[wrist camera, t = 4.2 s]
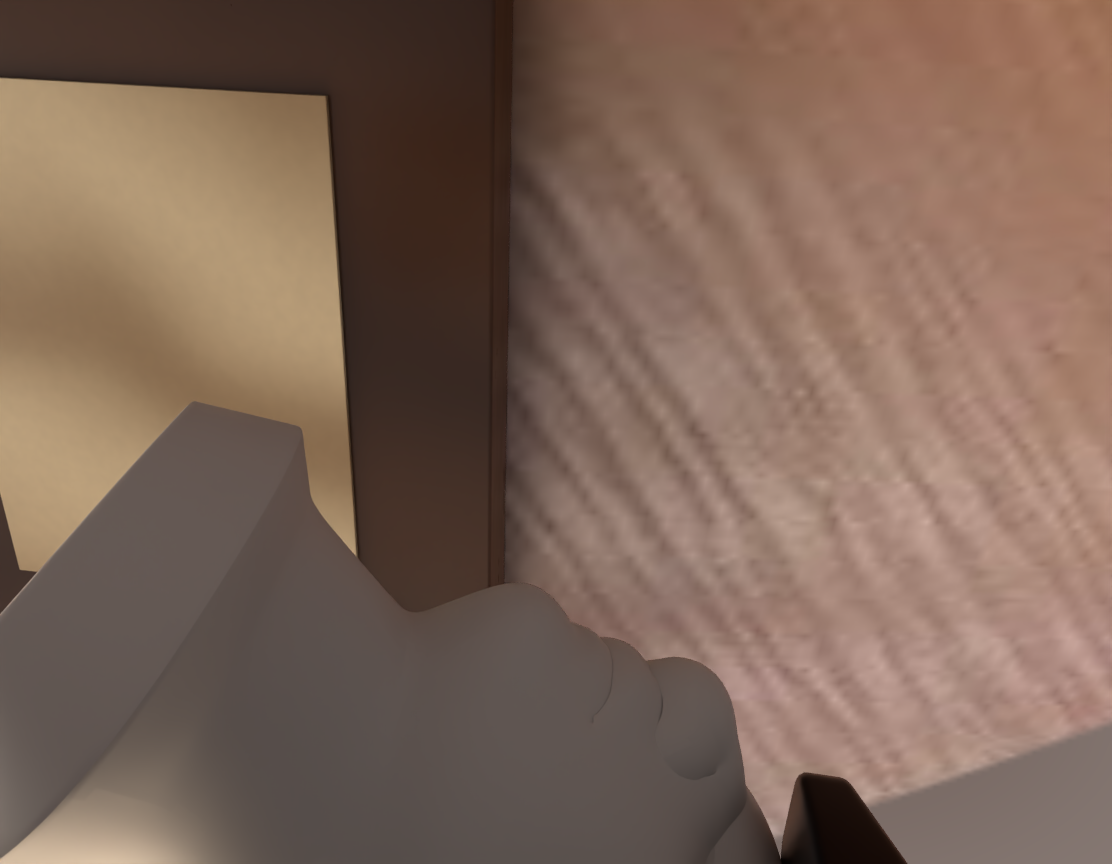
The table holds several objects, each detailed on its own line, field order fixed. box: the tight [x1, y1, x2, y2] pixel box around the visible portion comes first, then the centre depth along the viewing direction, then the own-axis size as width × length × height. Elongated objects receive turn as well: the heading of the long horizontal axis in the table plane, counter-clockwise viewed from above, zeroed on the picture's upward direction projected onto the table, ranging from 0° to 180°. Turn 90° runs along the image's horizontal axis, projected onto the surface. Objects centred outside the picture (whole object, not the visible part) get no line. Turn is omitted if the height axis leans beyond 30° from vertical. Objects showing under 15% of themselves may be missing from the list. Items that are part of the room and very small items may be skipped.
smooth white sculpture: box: [0, 401, 782, 864], centre depth 8 cm, size 4×8×5 cm
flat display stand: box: [0, 0, 513, 614], centre depth 16 cm, size 16×13×4 cm
